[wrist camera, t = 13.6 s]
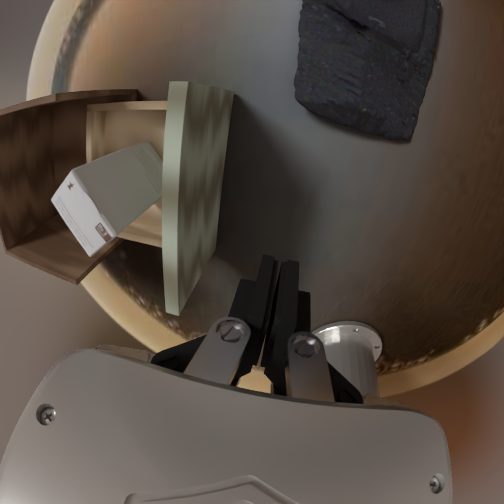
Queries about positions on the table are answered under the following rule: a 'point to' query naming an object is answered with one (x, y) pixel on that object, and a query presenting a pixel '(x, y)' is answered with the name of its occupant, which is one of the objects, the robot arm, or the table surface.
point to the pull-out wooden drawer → (173, 174)
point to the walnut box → (46, 179)
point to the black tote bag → (367, 62)
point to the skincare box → (109, 194)
